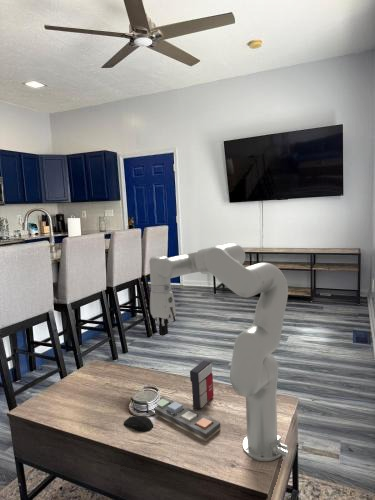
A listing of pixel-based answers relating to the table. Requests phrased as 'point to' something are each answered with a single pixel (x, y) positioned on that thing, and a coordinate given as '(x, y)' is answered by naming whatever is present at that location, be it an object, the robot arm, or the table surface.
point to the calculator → (202, 384)
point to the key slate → (175, 408)
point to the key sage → (163, 403)
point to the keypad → (187, 425)
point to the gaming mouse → (139, 423)
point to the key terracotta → (204, 423)
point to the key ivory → (189, 416)
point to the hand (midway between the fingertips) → (163, 334)
